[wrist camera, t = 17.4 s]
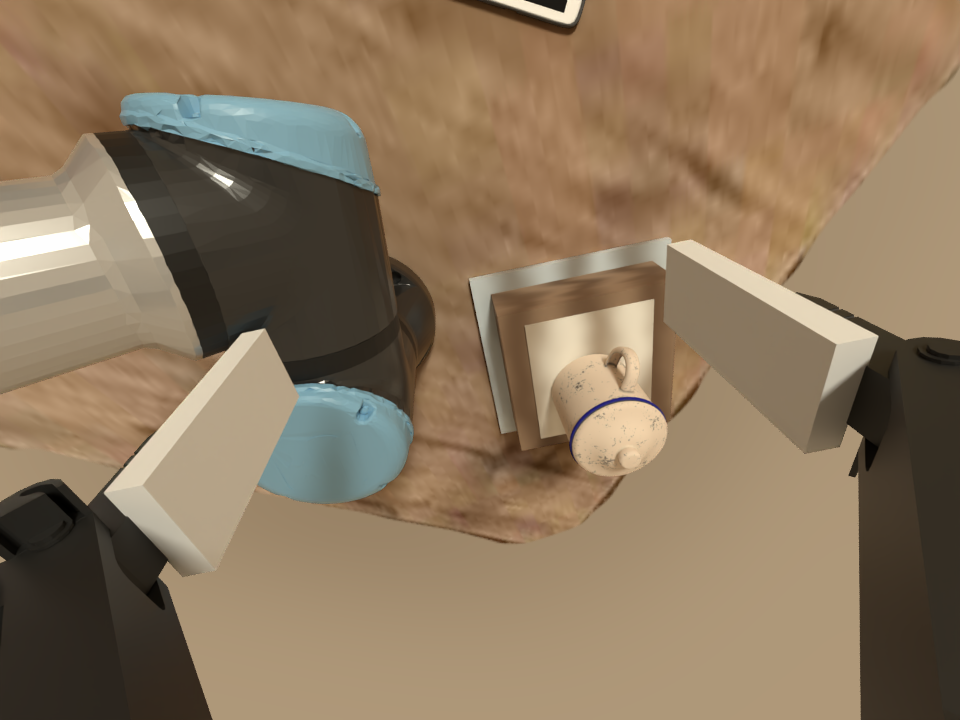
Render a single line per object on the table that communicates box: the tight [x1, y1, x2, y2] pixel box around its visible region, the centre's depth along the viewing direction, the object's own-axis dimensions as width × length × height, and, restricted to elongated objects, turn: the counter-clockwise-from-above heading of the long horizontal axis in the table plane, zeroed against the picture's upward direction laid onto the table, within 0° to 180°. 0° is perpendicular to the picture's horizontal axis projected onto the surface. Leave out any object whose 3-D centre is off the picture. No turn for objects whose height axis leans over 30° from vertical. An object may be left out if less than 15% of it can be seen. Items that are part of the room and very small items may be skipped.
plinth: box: [469, 237, 676, 451], centre depth 49 cm, size 22×22×7 cm
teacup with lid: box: [552, 347, 667, 476], centre depth 41 cm, size 12×9×12 cm
